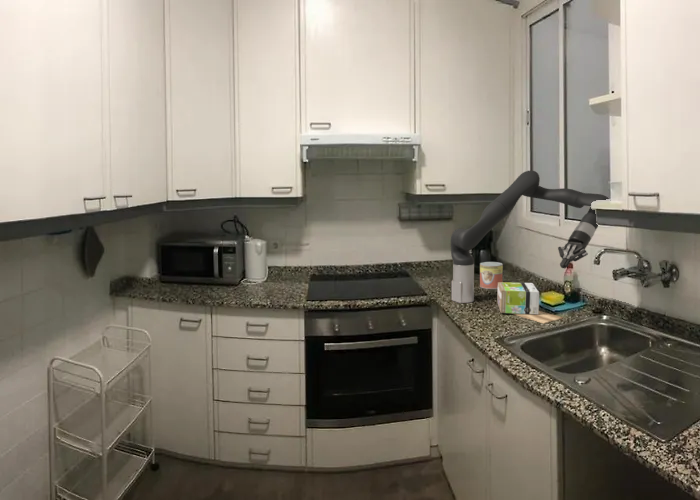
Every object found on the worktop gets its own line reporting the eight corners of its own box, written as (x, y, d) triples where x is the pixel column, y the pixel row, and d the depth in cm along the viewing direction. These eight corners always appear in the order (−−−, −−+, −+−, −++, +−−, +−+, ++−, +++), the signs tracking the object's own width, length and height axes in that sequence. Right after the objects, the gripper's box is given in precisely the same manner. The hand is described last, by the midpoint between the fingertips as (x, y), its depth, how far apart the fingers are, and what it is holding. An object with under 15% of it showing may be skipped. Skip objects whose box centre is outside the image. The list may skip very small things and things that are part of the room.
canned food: (476, 287, 222) (476, 264, 221) (484, 283, 231) (484, 261, 229) (498, 290, 215) (498, 266, 214) (505, 285, 224) (505, 262, 222)
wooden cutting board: (544, 323, 163) (544, 322, 163) (502, 311, 180) (502, 310, 180) (563, 318, 168) (563, 317, 168) (521, 306, 185) (521, 305, 185)
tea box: (539, 290, 170) (500, 290, 174) (539, 315, 172) (500, 314, 175) (532, 282, 185) (496, 281, 188) (532, 304, 186) (496, 304, 190)
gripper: (600, 242, 179) (581, 275, 175) (571, 239, 190) (552, 270, 186) (593, 230, 175) (573, 264, 171) (564, 228, 187) (544, 259, 183)
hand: (562, 267), depth 179 cm, fingers closed
